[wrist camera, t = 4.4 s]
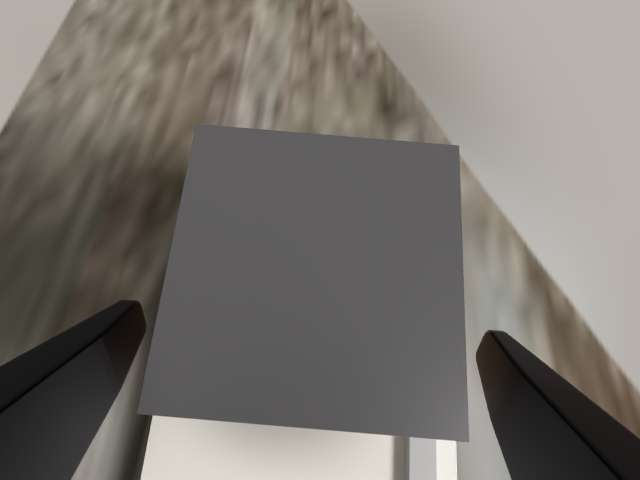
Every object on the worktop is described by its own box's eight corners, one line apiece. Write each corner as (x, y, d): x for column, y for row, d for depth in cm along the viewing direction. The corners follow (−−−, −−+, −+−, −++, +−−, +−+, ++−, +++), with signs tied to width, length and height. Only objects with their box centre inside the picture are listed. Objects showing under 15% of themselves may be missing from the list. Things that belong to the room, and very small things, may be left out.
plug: (361, 368, 16) (523, 505, 4) (258, 359, 16) (72, 467, 4) (366, 265, 18) (496, 114, 5) (270, 257, 18) (164, 87, 5)
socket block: (431, 610, 14) (470, 705, 10) (149, 586, 14) (95, 673, 10) (428, 228, 18) (455, 205, 15) (215, 211, 18) (192, 183, 15)
